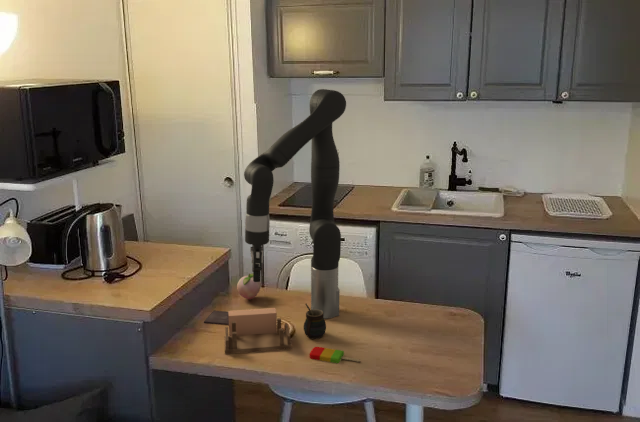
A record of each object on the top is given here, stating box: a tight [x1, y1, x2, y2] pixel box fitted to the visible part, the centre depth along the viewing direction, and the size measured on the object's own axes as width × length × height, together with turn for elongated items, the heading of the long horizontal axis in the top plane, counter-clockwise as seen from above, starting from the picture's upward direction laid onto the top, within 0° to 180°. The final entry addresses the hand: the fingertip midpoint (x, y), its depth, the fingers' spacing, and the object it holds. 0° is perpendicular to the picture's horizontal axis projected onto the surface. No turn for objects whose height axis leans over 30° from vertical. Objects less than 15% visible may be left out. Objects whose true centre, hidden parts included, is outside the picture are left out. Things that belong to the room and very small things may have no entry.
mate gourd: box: [303, 303, 327, 340], centre depth 187 cm, size 7×8×10 cm
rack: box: [224, 317, 293, 355], centre depth 181 cm, size 20×9×6 cm, turn 99°
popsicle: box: [309, 346, 361, 364], centre depth 174 cm, size 6×15×2 cm, turn 72°
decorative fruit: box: [236, 272, 262, 300], centre depth 214 cm, size 9×8×10 cm
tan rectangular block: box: [227, 307, 278, 336], centre depth 190 cm, size 15×4×7 cm, turn 99°
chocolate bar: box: [203, 310, 229, 326], centre depth 199 cm, size 9×1×18 cm
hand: (256, 276), depth 189 cm, fingers open, 8 cm apart
